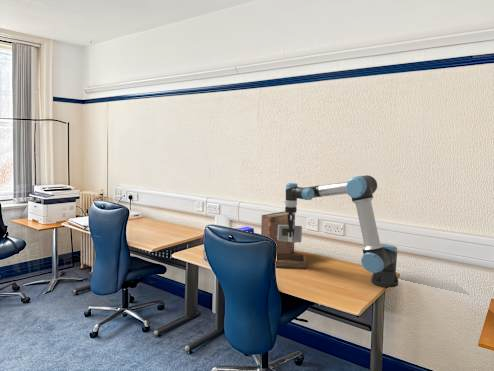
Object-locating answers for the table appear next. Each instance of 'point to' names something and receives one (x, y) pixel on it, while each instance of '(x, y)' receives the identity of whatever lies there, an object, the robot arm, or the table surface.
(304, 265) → the brown rectangular tray
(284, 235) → the digital clock
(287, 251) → the book
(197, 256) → the table surface
